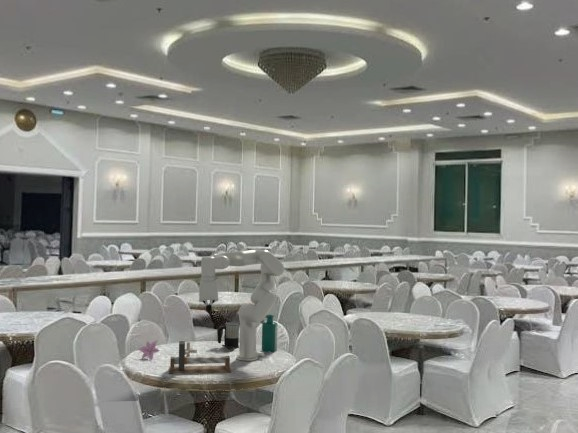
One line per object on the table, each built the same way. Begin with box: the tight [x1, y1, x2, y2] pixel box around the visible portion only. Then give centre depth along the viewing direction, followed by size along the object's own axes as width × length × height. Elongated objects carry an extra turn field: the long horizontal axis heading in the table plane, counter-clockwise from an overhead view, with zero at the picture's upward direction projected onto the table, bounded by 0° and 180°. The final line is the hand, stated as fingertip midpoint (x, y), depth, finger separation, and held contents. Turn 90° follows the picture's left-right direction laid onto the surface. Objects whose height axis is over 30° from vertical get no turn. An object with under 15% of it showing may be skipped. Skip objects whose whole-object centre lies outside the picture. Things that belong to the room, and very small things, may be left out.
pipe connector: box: [185, 341, 198, 357], centre depth 349 cm, size 10×10×10 cm
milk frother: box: [216, 322, 240, 351], centre depth 380 cm, size 14×16×15 cm
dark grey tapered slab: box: [178, 340, 186, 370], centre depth 324 cm, size 3×8×14 cm, turn 10°
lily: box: [137, 339, 161, 361], centre depth 352 cm, size 12×12×10 cm
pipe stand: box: [168, 355, 232, 375], centre depth 326 cm, size 32×11×7 cm, turn 100°
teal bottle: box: [260, 314, 278, 353], centre depth 377 cm, size 10×8×22 cm
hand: (208, 312), depth 337 cm, fingers closed
